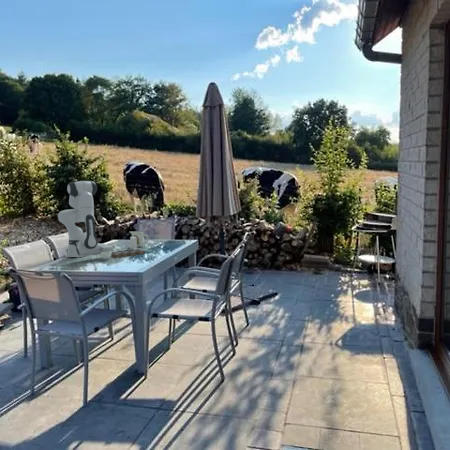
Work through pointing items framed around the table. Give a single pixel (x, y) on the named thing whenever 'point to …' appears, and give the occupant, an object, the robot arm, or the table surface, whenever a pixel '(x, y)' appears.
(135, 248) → the fader tab
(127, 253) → the fader track
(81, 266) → the table surface
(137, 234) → the pitcher
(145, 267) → the table surface
